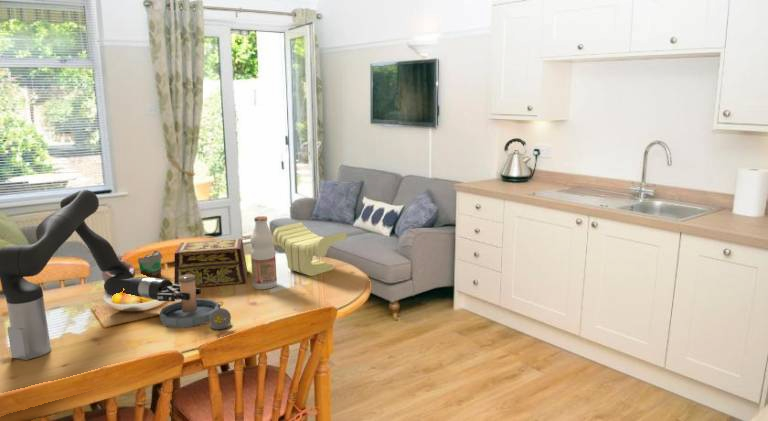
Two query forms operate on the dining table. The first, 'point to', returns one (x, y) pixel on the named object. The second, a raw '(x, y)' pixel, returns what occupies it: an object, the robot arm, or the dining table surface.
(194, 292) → the spice jar
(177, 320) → the round tray
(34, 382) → the dining table surface
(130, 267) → the mortar and pestle
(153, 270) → the food container
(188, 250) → the decorative box
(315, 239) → the slatted curved stool
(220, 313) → the grey rounded piece
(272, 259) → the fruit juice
